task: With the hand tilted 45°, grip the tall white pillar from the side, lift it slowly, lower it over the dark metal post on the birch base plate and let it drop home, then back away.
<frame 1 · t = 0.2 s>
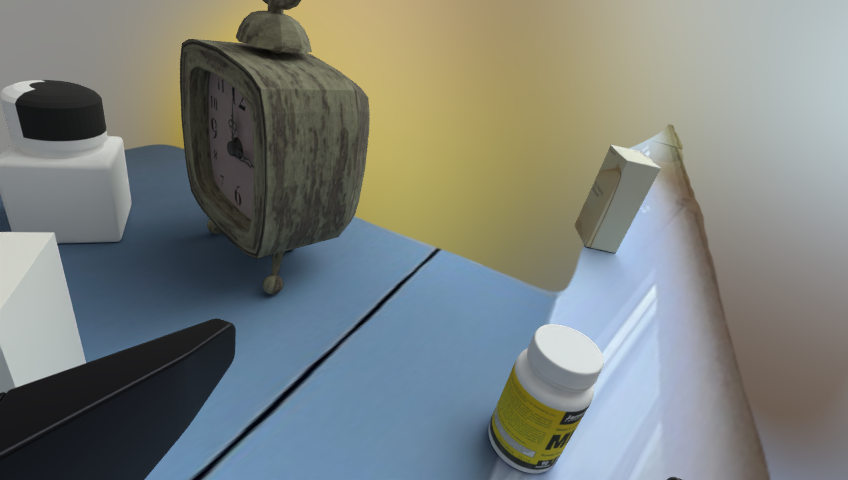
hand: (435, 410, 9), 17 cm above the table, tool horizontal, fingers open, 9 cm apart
tall white pillar: (13, 477, 21), on the table
skincare box: (594, 241, 59), on the table
tabletop clock: (271, 255, 41), on the table
medicine bottle: (80, 225, 39), on the table
supplement bottle: (521, 442, 29), on the table
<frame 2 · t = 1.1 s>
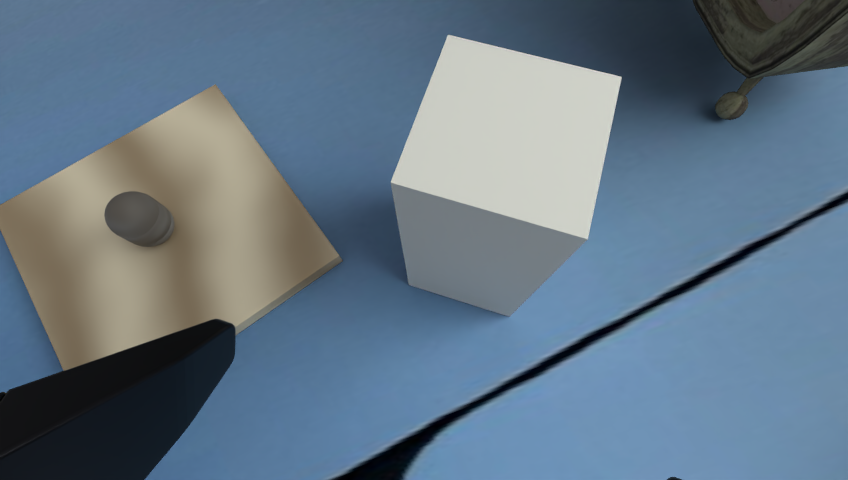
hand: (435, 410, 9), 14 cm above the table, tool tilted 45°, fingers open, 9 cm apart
tall white pillar: (472, 253, 24), on the table
tabletop clock: (729, 45, 29), on the table
post stand: (171, 238, 25), on the table
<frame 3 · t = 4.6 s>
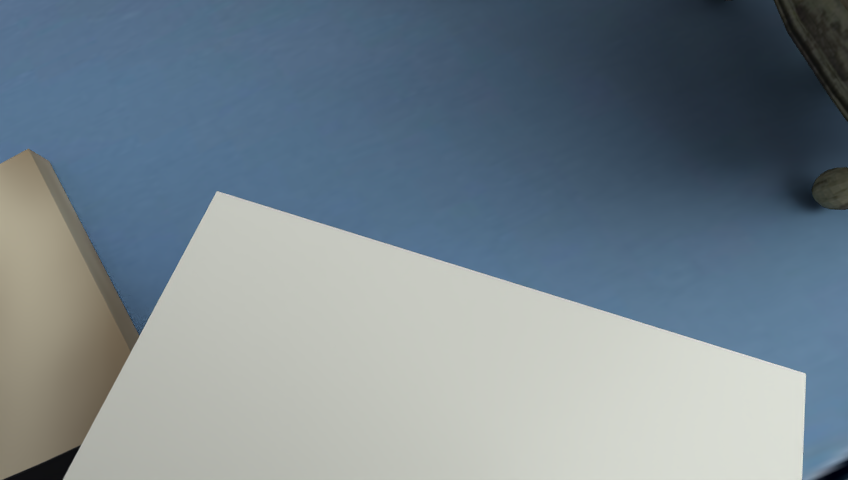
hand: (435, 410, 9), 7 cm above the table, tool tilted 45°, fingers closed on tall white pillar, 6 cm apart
tall white pillar: (420, 445, 14), on the table, touching gripper
tabletop clock: (822, 84, 19), on the table
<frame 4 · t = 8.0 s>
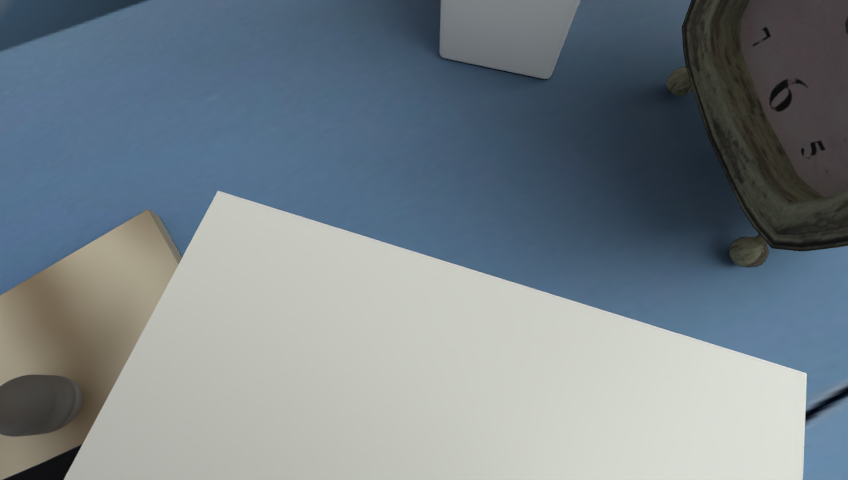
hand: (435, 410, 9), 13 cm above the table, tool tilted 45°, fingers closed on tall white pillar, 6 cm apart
tall white pillar: (420, 445, 14), point 6 cm above the table, touching gripper
tabletop clock: (747, 164, 25), on the table
medicine bottle: (504, 30, 29), on the table
post stand: (85, 403, 21), on the table
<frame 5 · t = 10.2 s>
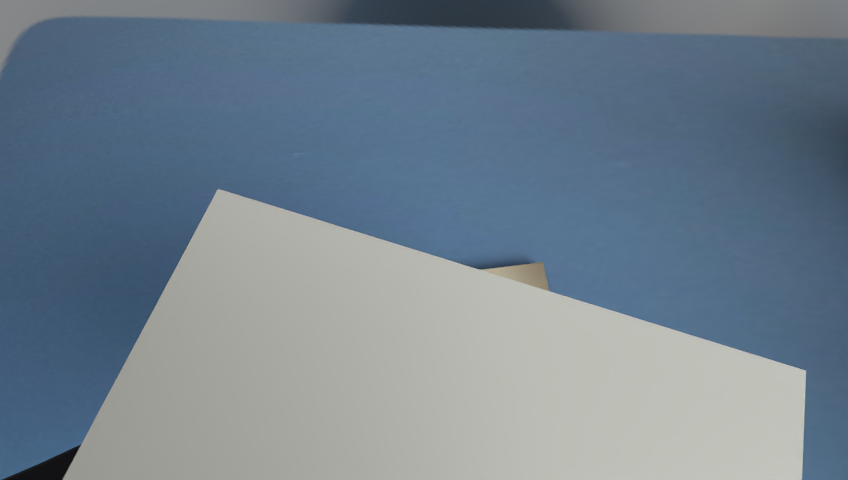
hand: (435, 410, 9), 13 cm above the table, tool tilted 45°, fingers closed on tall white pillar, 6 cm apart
tall white pillar: (420, 444, 14), point 6 cm above the table, touching gripper
post stand: (422, 427, 20), on the table
when the fingers open (9 cm above the table, at t = 11.8 s): tall white pillar drops 1 cm, resting on post stand.
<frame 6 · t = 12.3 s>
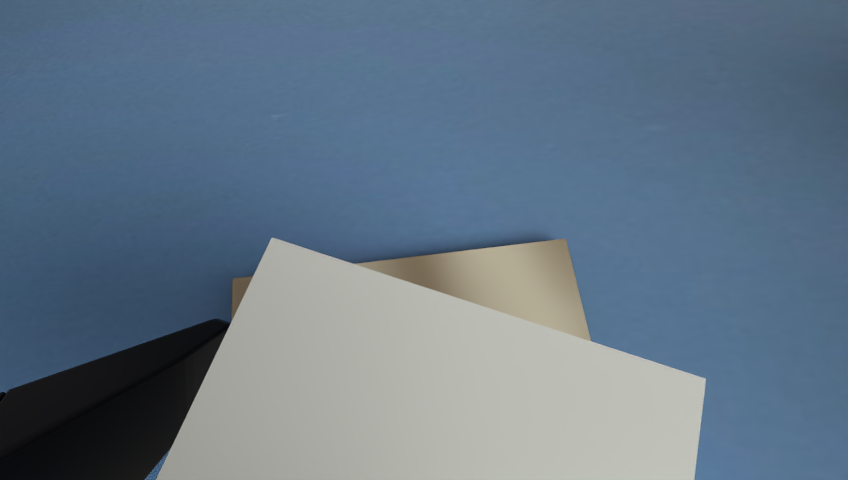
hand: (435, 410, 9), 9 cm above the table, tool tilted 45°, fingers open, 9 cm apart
tall white pillar: (421, 439, 16), point 1 cm above the table, touching post stand
post stand: (421, 438, 17), on the table
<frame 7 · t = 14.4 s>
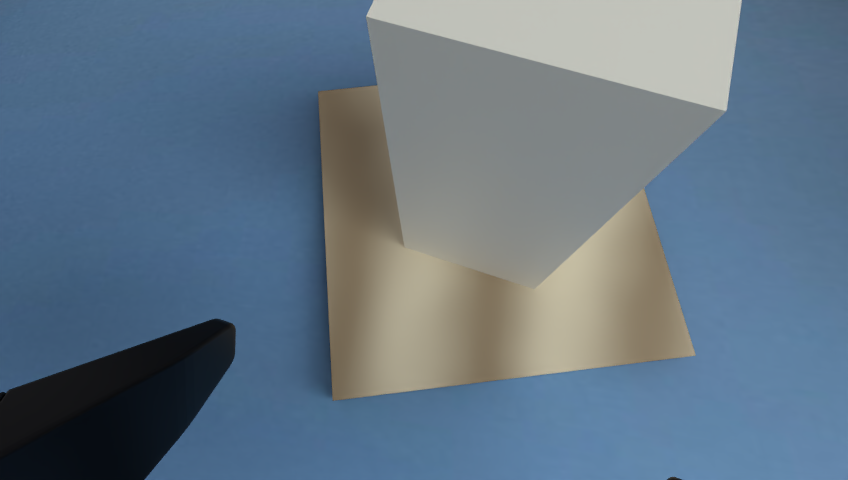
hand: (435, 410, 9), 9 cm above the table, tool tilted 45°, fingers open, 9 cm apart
tall white pillar: (487, 208, 19), point 1 cm above the table, touching post stand
post stand: (483, 217, 20), on the table
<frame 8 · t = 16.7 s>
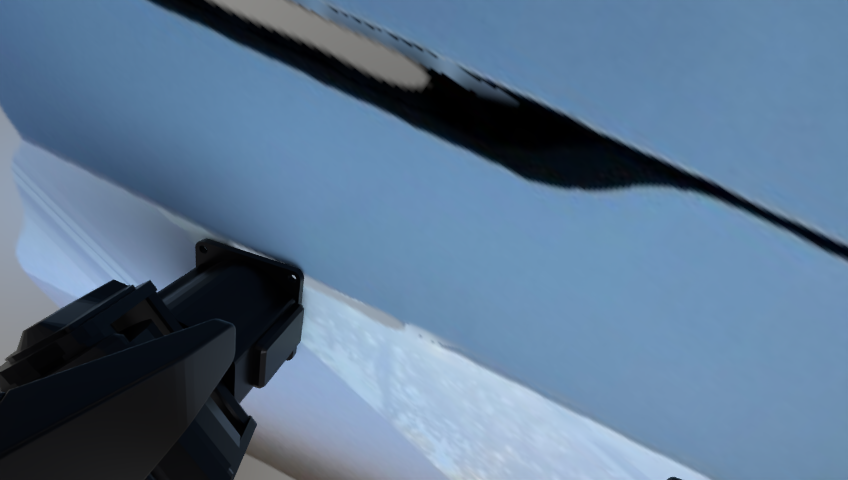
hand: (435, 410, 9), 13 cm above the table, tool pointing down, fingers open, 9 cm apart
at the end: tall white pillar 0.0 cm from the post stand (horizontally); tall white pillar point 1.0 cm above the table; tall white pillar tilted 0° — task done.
